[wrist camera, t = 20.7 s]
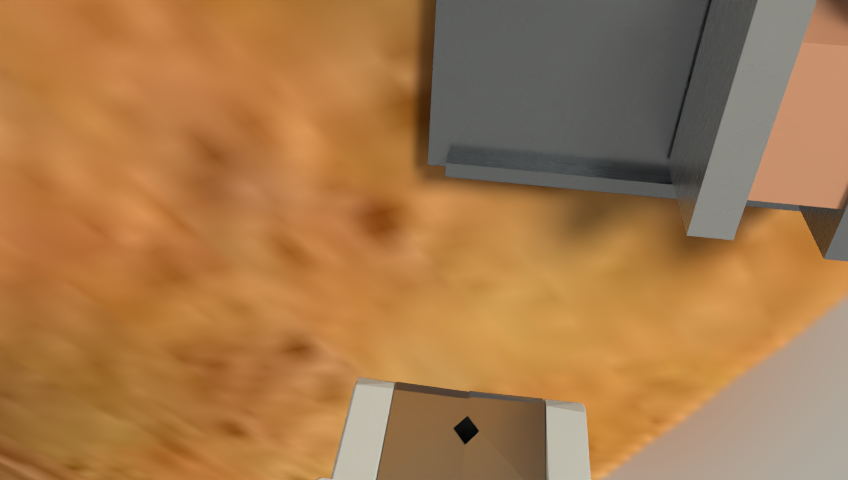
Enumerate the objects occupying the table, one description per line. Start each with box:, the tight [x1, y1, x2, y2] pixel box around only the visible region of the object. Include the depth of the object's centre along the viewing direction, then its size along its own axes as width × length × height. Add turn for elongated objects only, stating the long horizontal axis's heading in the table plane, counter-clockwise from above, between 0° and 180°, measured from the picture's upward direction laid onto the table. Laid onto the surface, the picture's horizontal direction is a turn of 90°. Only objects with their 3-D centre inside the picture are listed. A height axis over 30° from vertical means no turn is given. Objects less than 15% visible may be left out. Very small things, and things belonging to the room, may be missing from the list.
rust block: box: [748, 0, 848, 209], centre depth 33 cm, size 4×7×6 cm, turn 177°
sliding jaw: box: [668, 0, 817, 240], centre depth 33 cm, size 2×11×6 cm, turn 177°
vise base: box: [428, 0, 848, 261], centre depth 34 cm, size 22×14×8 cm, turn 87°
